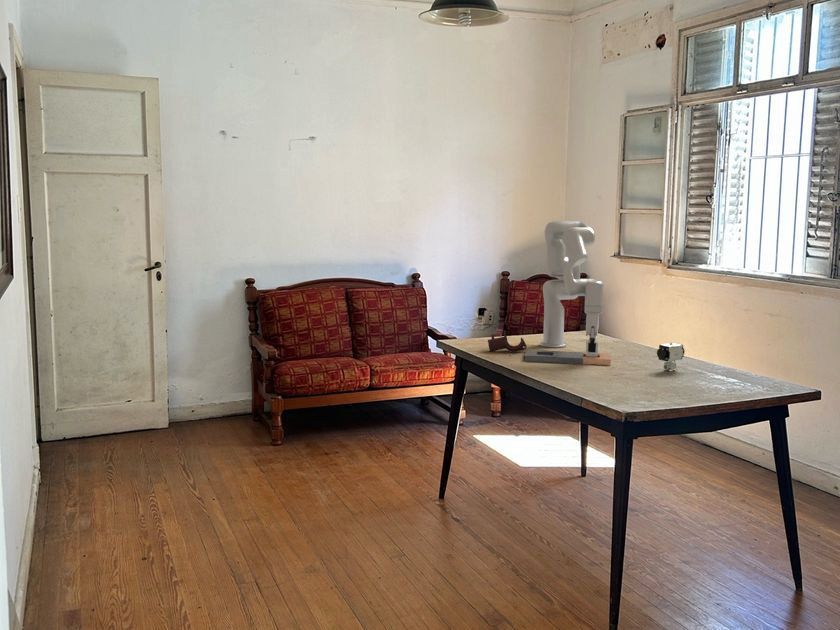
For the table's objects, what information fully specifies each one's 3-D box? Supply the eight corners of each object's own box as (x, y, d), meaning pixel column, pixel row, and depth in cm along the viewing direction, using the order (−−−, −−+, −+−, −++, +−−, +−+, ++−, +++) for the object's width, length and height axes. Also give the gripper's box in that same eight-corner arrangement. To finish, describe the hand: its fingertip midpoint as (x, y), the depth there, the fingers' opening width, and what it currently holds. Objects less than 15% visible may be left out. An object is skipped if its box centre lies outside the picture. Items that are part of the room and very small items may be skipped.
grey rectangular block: (585, 356, 353) (586, 340, 352) (597, 356, 352) (598, 340, 351) (585, 358, 348) (586, 342, 347) (597, 358, 347) (598, 342, 346)
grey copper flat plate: (527, 355, 363) (527, 349, 363) (609, 359, 356) (610, 353, 355) (525, 361, 349) (525, 355, 349) (610, 365, 342) (610, 359, 342)
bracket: (527, 348, 366) (523, 326, 368) (490, 354, 367) (486, 333, 370) (527, 350, 372) (523, 329, 374) (490, 357, 373) (487, 336, 375)
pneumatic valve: (655, 371, 332) (656, 342, 330) (674, 368, 338) (676, 340, 336) (665, 373, 327) (667, 344, 325) (685, 370, 333) (687, 342, 331)
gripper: (584, 306, 356) (583, 347, 359) (584, 311, 340) (582, 354, 342) (602, 307, 355) (600, 348, 357) (602, 312, 338) (600, 355, 341)
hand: (591, 350), depth 350 cm, fingers closed on grey rectangular block, 5 cm apart
